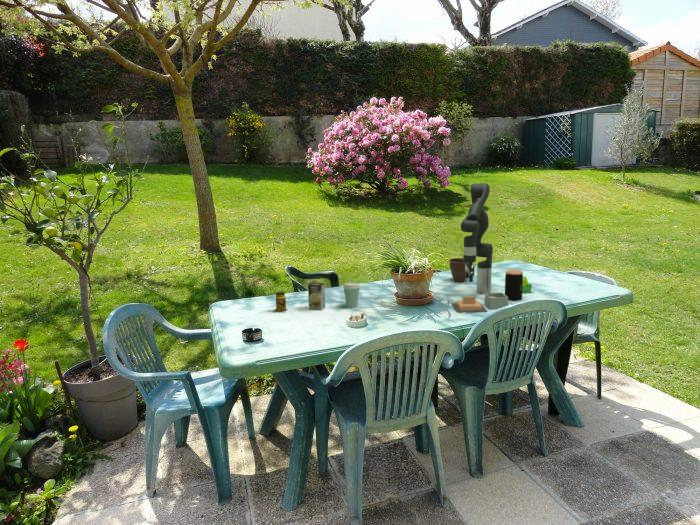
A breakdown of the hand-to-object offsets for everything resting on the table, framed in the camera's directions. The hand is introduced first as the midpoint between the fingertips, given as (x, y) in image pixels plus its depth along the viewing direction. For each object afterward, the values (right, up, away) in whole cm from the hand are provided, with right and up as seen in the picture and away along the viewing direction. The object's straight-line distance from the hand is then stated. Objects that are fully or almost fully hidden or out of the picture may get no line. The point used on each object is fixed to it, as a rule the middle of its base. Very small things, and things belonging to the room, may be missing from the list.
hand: (469, 280), depth 302 cm
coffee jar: (+32, -13, +18) cm, 40 cm away
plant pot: (+8, -4, +65) cm, 66 cm away
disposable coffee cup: (-70, -17, +15) cm, 74 cm away
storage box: (+18, -16, +5) cm, 24 cm away
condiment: (-115, -20, +11) cm, 118 cm away
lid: (+1, -17, +4) cm, 17 cm away
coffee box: (-92, -18, +13) cm, 95 cm away
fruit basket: (+43, -10, +33) cm, 55 cm away
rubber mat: (+1, -17, +4) cm, 17 cm away
